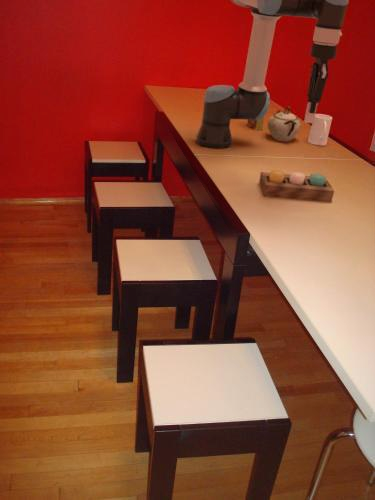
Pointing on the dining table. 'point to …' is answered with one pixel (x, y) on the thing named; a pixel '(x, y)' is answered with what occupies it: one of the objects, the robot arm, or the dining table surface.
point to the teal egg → (317, 180)
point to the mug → (320, 129)
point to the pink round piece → (297, 178)
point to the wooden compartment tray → (295, 189)
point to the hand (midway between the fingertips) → (308, 122)
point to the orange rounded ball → (276, 176)
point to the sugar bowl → (284, 125)
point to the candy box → (256, 124)
